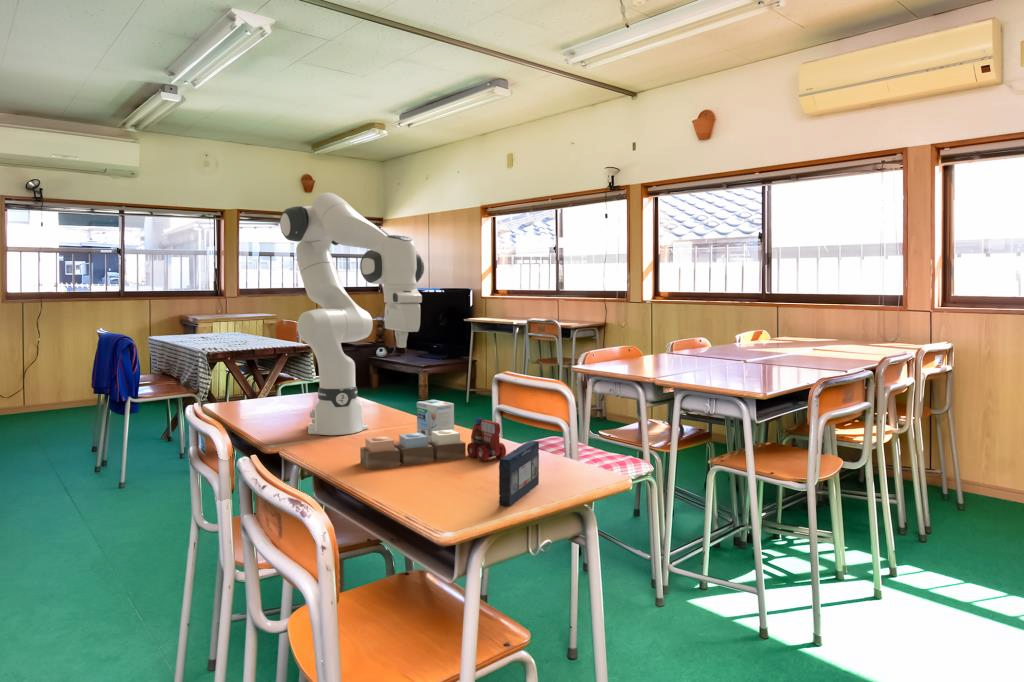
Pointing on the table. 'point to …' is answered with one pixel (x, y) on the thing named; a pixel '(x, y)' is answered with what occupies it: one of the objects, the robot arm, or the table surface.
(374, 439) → the terracotta block
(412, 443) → the slate block
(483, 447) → the toy fire truck
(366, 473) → the table surface
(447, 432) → the cream block
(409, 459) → the walnut bases
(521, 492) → the vhs cassette tape
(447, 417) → the light bulb box
